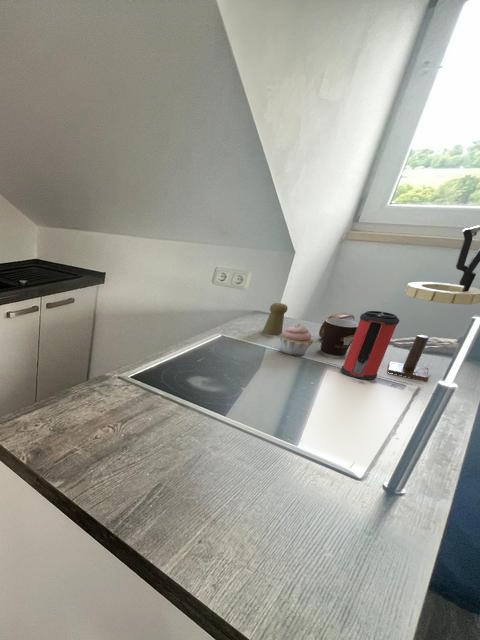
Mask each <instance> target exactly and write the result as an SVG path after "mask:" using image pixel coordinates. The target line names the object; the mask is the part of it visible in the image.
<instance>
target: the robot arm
mask: <svg viewBox="0 0 480 640" xmlns="http://www.w3.org/2000/svg"><path fill="white" fill-rule="evenodd" d="M479 231H480V225H477V226H473V227H470V228H468V227H466V228H464V229H463V230H462V236H463V241H462V244H461V247H460V250H459V255H458V256H457V257H458V258H457V261H456V265H455V268H456V270H459V271H461V272H463V273H462V275H461V277H460V280H459V284H458V285H462V286H464V287H463V290H462V292H466V291H468V290H469V288H470V287H472V285H473V282H474V280H475V278H476V275H477V273H476V272H474V271H475V269H476V268H477V266H478V265H479V263H480V247H479V248H478V249H477V251H476V253H475V254H474V255H473V257H472V258H471V260H470V261H469V263H468V264H466V262H467V258H468V255H469V252H470V248H471V245H472V242H473V237H475V236H477V234H478V232H479Z"/></svg>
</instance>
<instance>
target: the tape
mask: <svg viewBox="0 0 480 640" xmlns="http://www.w3.org/2000/svg"><path fill="white" fill-rule="evenodd" d="M463 287H464V286H462V285H460V284H456V283H453V284H452V283H449V282H448V283H447V282H436V281H435V282H434V281H412V282H408V283H407V286H406V288H405V291H404V295H405V296H406V297H410V298H414V299H417V300H421V301H426V302H433V303H440V304H447V305H450V304H453V305H475V304H477V305H478V304H480V288H477V287H474V286H470V288H469V290H468V291H466V292H462V290H463Z"/></svg>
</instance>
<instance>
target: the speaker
mask: <svg viewBox="0 0 480 640" xmlns="http://www.w3.org/2000/svg"><path fill="white" fill-rule="evenodd" d="M358 323H359V324H358V327H357V329H356V332H355V335H354V338H353V340H352V343H351V345H350V347H349V348H348V350H347V353H346V357H345V359H344V362H343V365H342V366H341V368H340V371H341V372H342V373H343V374H344V375H346V376H348V377H353V378H355V379H358V380H369V381H370V380H374V379H376V378H377V377H378V372H379V369H380V367H381V364H382V361H383V360H384V357H385V355H386V352H387V349H388V347H389V344H390V342H391V340H392V337H393V335H394V333H395V330H396V327H397V325H398V324H399V323H400V319H399V317H398V316H397V315H395V314H393V313H390V312H386V311H381V310H380V311H379V310H367V311H366V312H363V313H361V314H360V316H359V321H358Z"/></svg>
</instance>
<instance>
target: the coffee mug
mask: <svg viewBox="0 0 480 640" xmlns="http://www.w3.org/2000/svg"><path fill="white" fill-rule="evenodd" d="M324 321H325V326H324V332H323V337H321V344H320V349H319V351H320V352H322V353H323V354H326V355H330V356H335V357H342V356H346V355H347V353H348V351H349V349H350V346H351V343H352V340H353V338H354V335H355V332H356V329H357V327H358V324H359V322H356V321H355V320H354V321H350V320H344V319H327V318H326V319H325V320H324Z"/></svg>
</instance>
